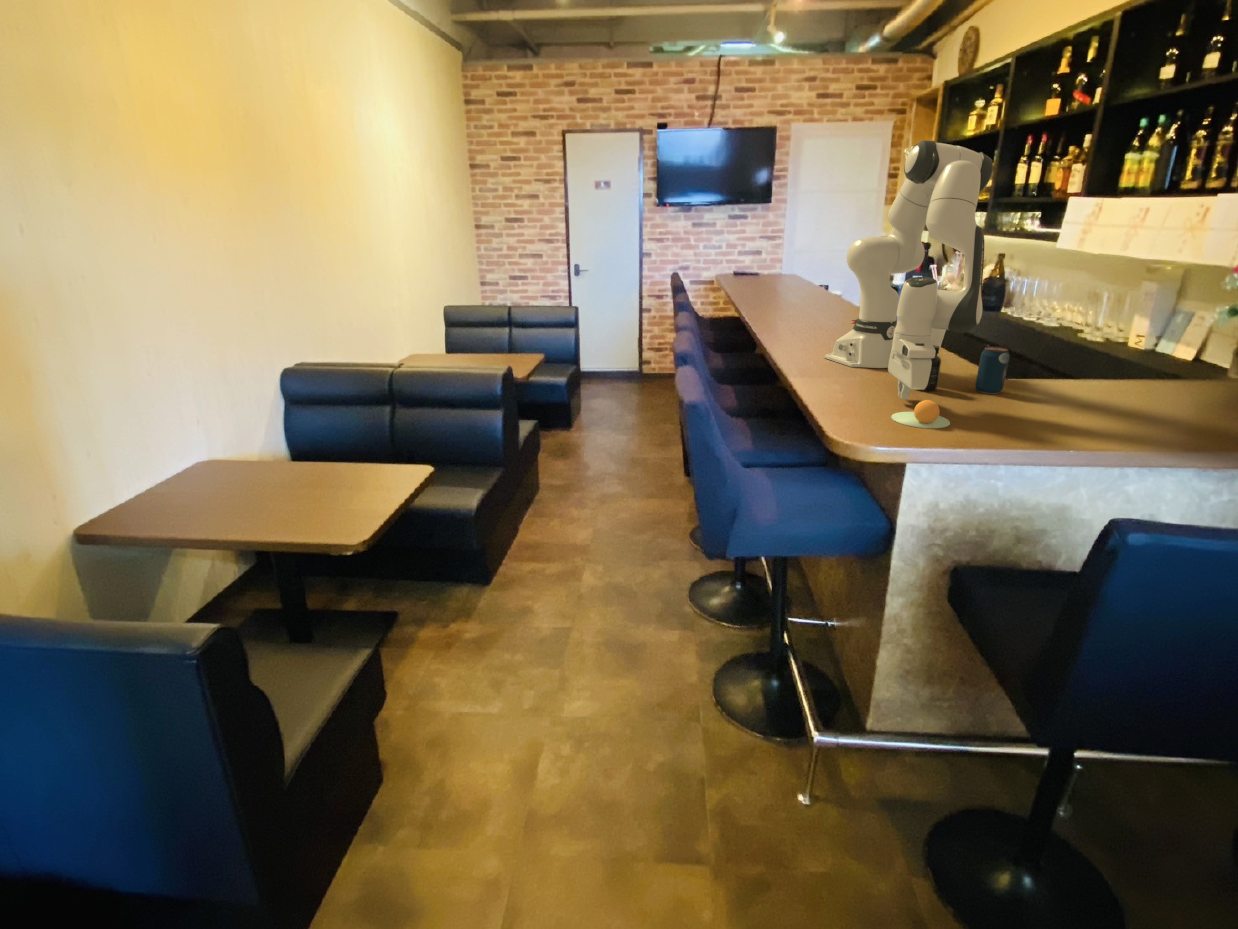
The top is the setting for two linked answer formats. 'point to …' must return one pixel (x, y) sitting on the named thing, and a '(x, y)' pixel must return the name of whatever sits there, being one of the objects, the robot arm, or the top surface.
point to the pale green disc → (910, 420)
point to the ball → (926, 411)
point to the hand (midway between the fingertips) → (902, 398)
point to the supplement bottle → (934, 372)
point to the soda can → (992, 370)
